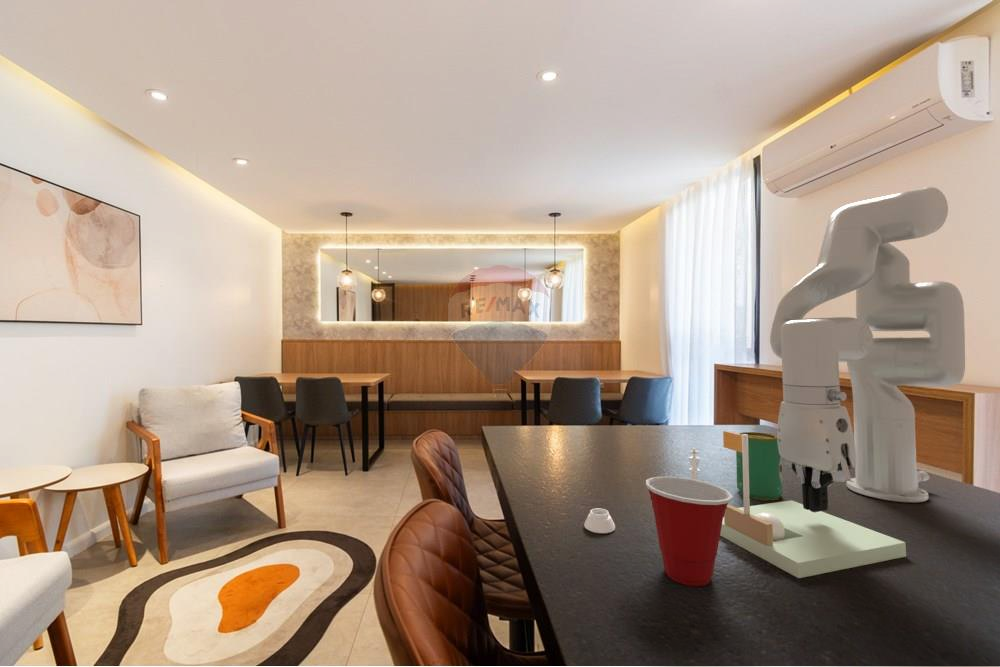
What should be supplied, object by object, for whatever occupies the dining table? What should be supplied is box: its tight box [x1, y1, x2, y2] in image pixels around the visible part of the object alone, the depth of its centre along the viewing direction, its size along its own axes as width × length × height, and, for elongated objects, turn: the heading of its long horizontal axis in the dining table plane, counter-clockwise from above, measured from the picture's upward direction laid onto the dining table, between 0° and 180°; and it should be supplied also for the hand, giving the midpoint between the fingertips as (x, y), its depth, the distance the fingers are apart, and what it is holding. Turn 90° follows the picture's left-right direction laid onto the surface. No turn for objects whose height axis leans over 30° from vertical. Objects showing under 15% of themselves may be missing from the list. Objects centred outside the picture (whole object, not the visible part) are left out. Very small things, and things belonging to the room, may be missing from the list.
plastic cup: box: [645, 476, 734, 587], centre depth 59 cm, size 11×11×12 cm
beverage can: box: [735, 431, 783, 501], centre depth 90 cm, size 8×8×12 cm
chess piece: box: [688, 447, 701, 481], centre depth 88 cm, size 5×5×10 cm
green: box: [720, 430, 907, 579], centre depth 70 cm, size 20×18×17 cm
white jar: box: [583, 507, 616, 535], centre depth 74 cm, size 5×3×5 cm
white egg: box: [755, 512, 785, 541], centre depth 68 cm, size 5×5×5 cm
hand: (815, 509), depth 71 cm, fingers closed
